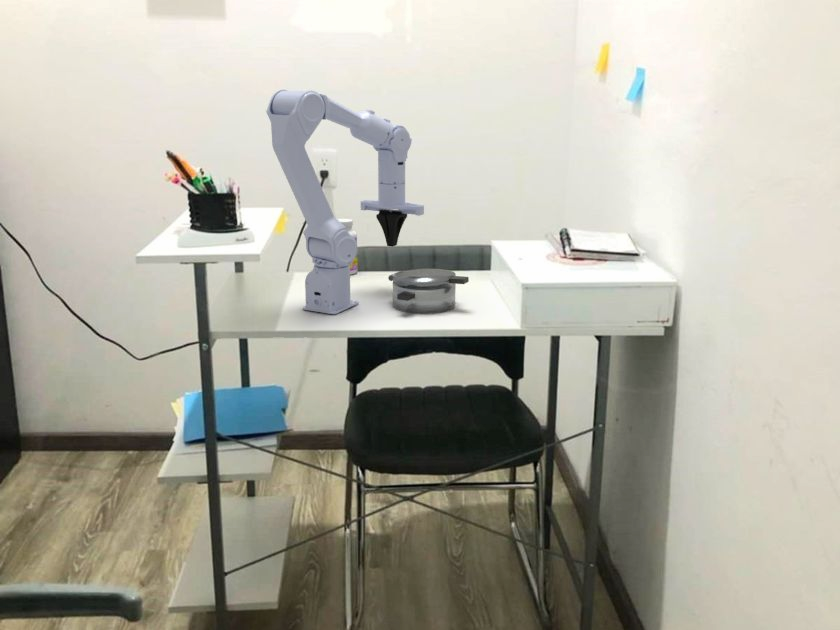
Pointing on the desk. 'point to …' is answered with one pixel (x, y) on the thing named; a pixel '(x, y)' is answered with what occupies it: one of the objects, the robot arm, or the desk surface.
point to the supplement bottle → (348, 225)
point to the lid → (426, 278)
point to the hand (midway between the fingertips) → (391, 245)
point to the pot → (424, 298)
